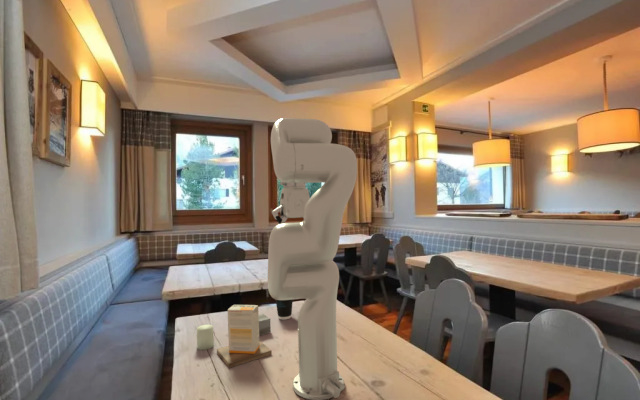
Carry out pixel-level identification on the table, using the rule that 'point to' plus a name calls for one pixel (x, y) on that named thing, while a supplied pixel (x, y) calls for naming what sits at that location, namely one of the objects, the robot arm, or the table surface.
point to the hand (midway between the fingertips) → (295, 234)
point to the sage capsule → (205, 337)
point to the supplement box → (243, 329)
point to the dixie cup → (284, 308)
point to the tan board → (242, 355)
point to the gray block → (264, 324)
